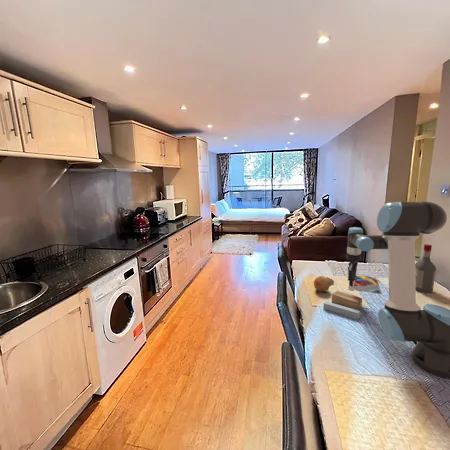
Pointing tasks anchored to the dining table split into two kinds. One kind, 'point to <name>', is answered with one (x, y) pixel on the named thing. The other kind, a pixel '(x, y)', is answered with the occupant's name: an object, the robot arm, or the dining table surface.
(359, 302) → the block
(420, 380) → the dining table surface
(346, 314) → the grey rectangular bar
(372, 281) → the relief map
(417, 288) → the liquor
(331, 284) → the wooden fragment
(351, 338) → the dining table surface
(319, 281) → the onion
